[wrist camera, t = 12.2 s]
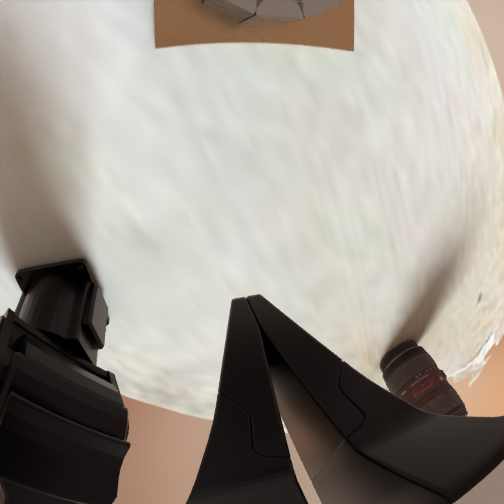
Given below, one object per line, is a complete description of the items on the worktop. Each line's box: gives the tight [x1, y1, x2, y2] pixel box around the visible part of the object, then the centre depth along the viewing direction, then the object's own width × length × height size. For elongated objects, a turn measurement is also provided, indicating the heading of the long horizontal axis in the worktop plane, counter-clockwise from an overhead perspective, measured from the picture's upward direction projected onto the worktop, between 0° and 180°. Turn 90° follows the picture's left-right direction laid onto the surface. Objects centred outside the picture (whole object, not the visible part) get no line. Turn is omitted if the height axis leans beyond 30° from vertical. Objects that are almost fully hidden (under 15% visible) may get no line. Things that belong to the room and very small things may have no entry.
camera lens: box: [380, 340, 468, 416], centre depth 35 cm, size 8×8×15 cm
